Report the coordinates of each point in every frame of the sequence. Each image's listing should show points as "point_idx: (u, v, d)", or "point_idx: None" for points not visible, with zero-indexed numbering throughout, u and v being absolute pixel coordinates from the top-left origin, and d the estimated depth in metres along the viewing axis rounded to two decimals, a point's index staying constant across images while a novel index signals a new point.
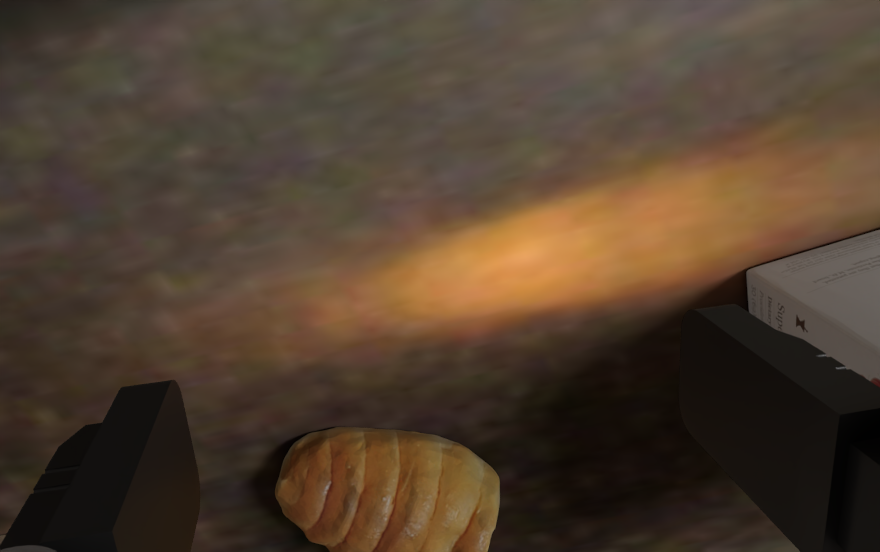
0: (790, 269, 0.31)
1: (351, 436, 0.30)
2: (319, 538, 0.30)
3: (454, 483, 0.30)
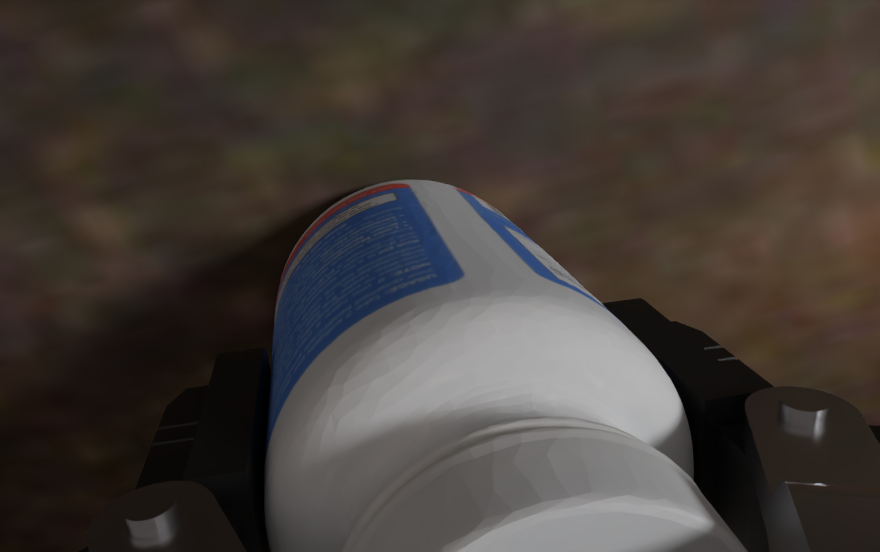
0: None
1: None
2: None
3: None
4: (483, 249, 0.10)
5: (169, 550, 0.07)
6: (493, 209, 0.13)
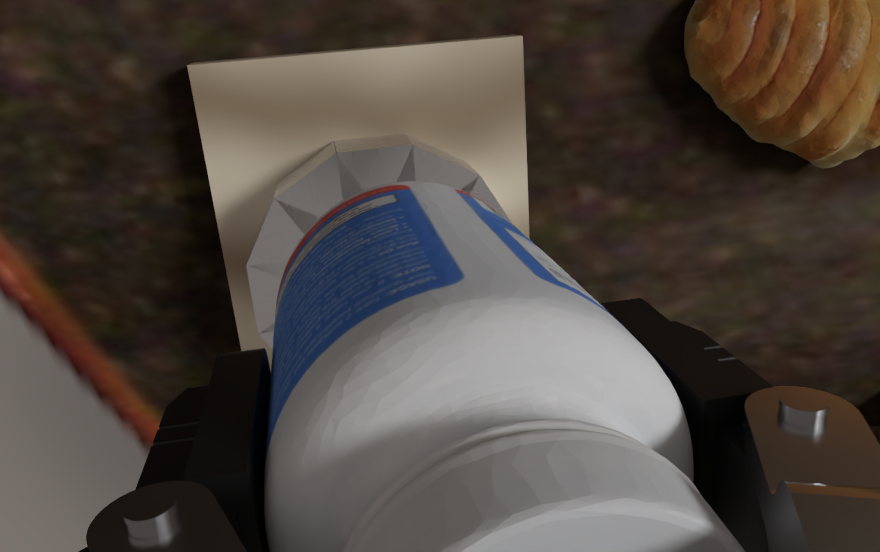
0: None
1: None
2: (739, 86, 0.28)
3: None
4: (482, 252, 0.10)
5: (170, 550, 0.07)
6: (493, 211, 0.13)
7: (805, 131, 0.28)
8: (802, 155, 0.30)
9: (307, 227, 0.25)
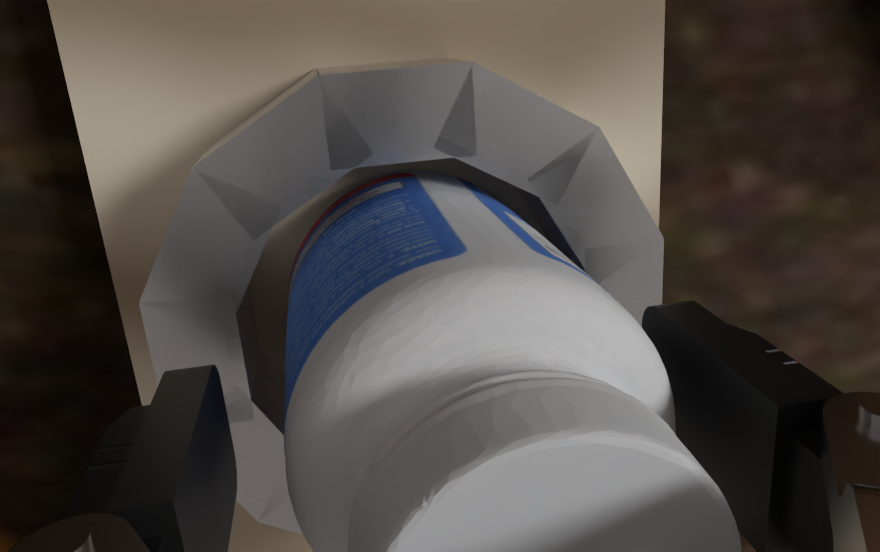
0: None
1: None
2: None
3: None
4: (483, 230, 0.11)
5: None
6: (493, 197, 0.14)
7: None
8: None
9: (261, 227, 0.13)
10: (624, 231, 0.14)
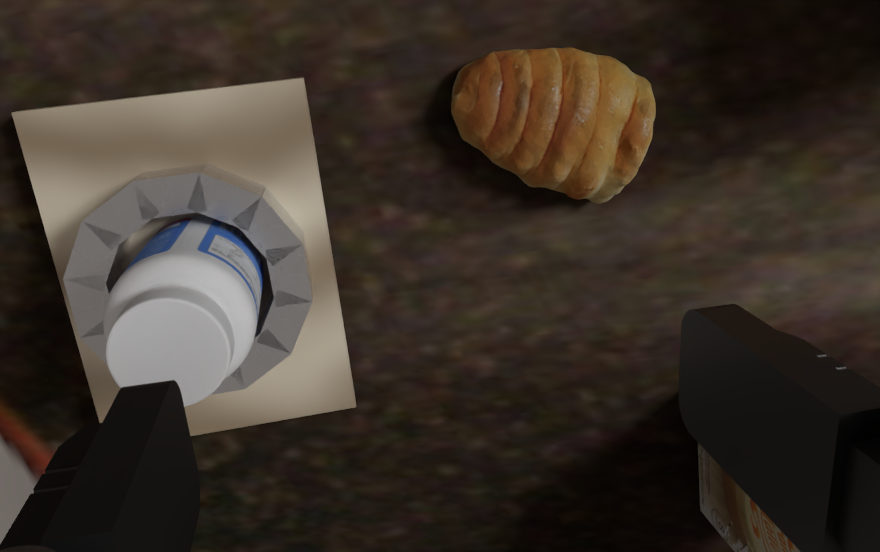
0: None
1: (511, 51, 0.33)
2: (497, 145, 0.33)
3: (612, 74, 0.33)
4: (186, 242, 0.28)
5: None
6: (226, 228, 0.31)
7: (560, 176, 0.33)
8: (569, 195, 0.35)
9: (113, 245, 0.30)
10: (282, 241, 0.31)
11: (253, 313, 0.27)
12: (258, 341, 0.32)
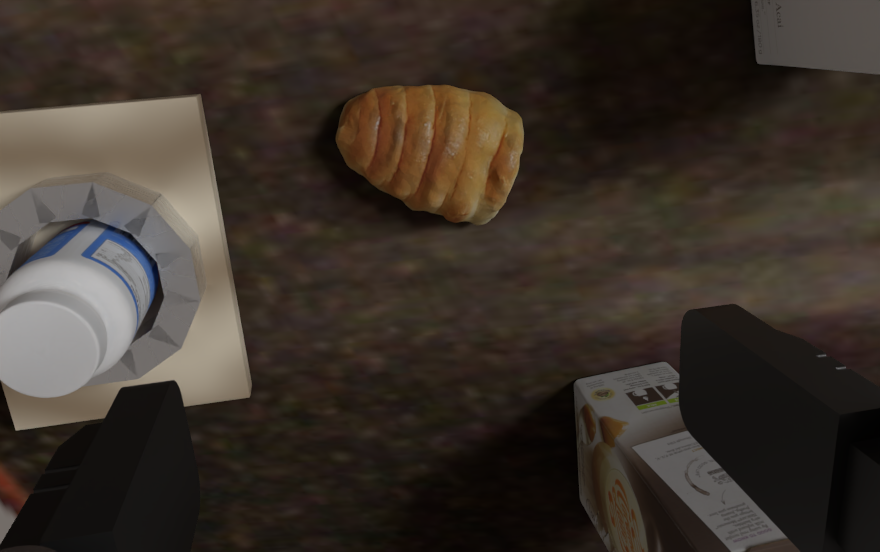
0: None
1: (392, 87, 0.36)
2: (377, 174, 0.36)
3: (482, 111, 0.36)
4: (74, 247, 0.31)
5: None
6: (121, 232, 0.34)
7: (435, 203, 0.37)
8: None
9: (13, 245, 0.33)
10: (171, 246, 0.34)
11: (130, 313, 0.30)
12: (150, 336, 0.35)
